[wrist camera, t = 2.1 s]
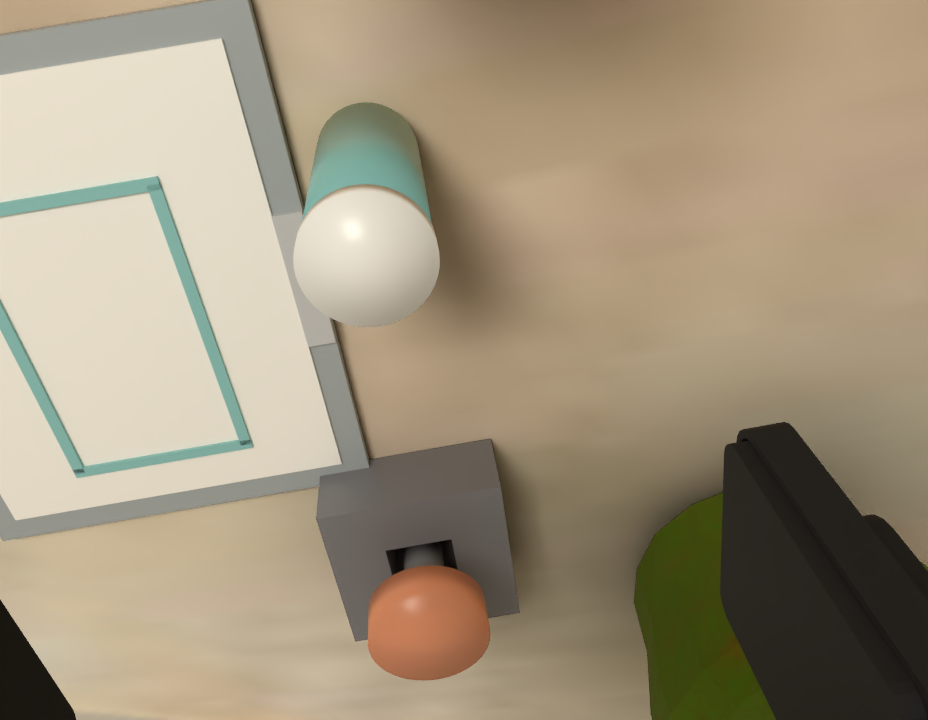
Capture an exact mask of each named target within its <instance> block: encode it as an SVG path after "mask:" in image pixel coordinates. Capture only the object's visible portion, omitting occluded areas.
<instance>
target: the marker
mask: <svg viewBox="0 0 928 720" xmlns="http://www.w3.org/2000/svg"><path fill="white" fill-rule="evenodd" d="M293 264H294V271H295V276H296V279H297V282H298V284H299V286H300V288H301V290H302V292H303V293H304V295H305V296H306V298H307V299H308V300H309V301H310V302H311V303H312V305H313V306H314V307H316V308H317V309H318V310H319V311H320V312H322V313H323V314H325V315H326V316H328V317H330V318H332V319H334V320H336V321H338V322H341V323H344V324H347V325H352V326H358V327H378V326H384V325H388V324H392V323H395V322H397V321H400V320H402V319H404V318H406V317H407V316H409V315H410V314H412V313H413V312H415V311H416V310H417V309H418V308H419V307H421V305H422V304H423V303H424V302H425V301H426V300H427V298H428V297H429V295H430V294H431V292H432V290H433V288H434V286H435V284H436V281H437V278H438V274H439V269H440V256H439V248H438V243H437V238H436V234H435V231H434V228H433V226H432V221H431V216H430V210H429V204H428V199H427V193H426V187H425V182H424V176H423V171H422V165H421V159H420V154H419V148H418V143H417V139H416V137H415V134H414V132H413V130H412V128H411V127H410V125H409V124H408V123H407V121H406V120H405V119H404V118H403V117H402V116H401V115H399V114H398V113H397V112H395V111H394V110H392V109H390V108H388V107H386V106H383V105H380V104H375V103H357V104H353V105H349V106H347V107H344V108H343V109H341V110H339V111H338V112H336V113H335V114H334V115H333V116H332V117H331V118H330V119H329V120H328V121H327V122H326V124H325V125H324V127H323V128H322V130H321V133H320V135H319V139H318V143H317V148H316V153H315V158H314V163H313V168H312V173H311V178H310V183H309V188H308V193H307V198H306V203H305V208H304V213H303V218H302V222H301V224H300V227H299V229H298V233H297V237H296V242H295V246H294V254H293Z"/></svg>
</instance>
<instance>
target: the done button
mask: <svg viewBox="0 0 928 720" xmlns="http://www.w3.org/2000/svg"><path fill="white" fill-rule="evenodd" d="M403 562H404V570H403V571H401V572H398V573H396V574H394V575H392V576H391V577H389V578H388V579H386V580H385V581H383V582H382V583H381V584H380V585H379V586H378V587H377V589H376V590H375V591H374V593H373V594H372V596H371V599H370V601H369V606H368V647H369V652H370V654H371V656H372V658H373V659H374V661H375V662H376V663H377V664H378V665H379V666H380V667H381V668H382V669H384V670H385V671H387V672H389V673H391V674H393V675H395V676H398V677H402V678H406V679H412V680H435V679H441V678H445V677H449V676H452V675H455V674H457V673H460V672H462V671H464V670H466V669H467V668H469V667H470V666H472V665H473V664H474V663H476V662H477V661H478V660H479V659H480V658H481V657H482V655H483V654H484V653H485V651H486V649H487V647H488V645H489V641H490V628H489V621H488V615H487V609H486V602H485V597H484V593H483V591H482V589H481V587H480V586H479V584H478V583H477V582H476V581H475V580H474V579H473V578H472V577H470V576H469V575H467V574H465V573H464V572H462V571H459V570H457V569H453V568H450V567H445V566H444V561H443V551H442V545H441V543H440V542H433V543H427V544H422V545H416V546H410V547H405V548H403Z"/></svg>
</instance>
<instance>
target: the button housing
mask: <svg viewBox="0 0 928 720" xmlns="http://www.w3.org/2000/svg"><path fill="white" fill-rule="evenodd" d="M316 520H317V523H318V526H319V529H320V532H321V535H322V538H323V542H324V545H325V548H326V551H327V554H328V557H329V560H330V563H331V567H332V570H333V573H334V576H335V579H336V582H337V585H338V588H339V592H340V595H341V598H342V601H343V604H344V607H345V610H346V613H347V617H348V620H349V623H350V626H351V629H352V632H353V635H354V639H355V642H356V641H361V640H367V639H368V606H369V601H370V599H371V596H372V594H373V593H374V591H375V590H376V589H377V587H378V586H379V585H380V584H381V583H382V582H383V581H385V580H386V579H388V578H389V577H391V576H392V575H394V574H396V573H398V572H401V571H403V570H404V562H403V548H405V547H410V546H416V545H422V544H427V543H433V542H440V543H441V545H442V551H443V561H444V566H445V567H450V568H453V569H457V570H459V571H462V572H464V573H465V574H467V575H469V576H470V577H472V578H473V579H474V580H475V581H476V582H477V583H478V584H479V586H480V587H481V589H482V591H483V593H484V597H485V602H486V609H487V615H488V618H492V617H498V616H503V615H509V614H515V613H520V611H519V604H518V598H517V591H516V584H515V578H514V571H513V564H512V558H511V551H510V544H509V538H508V531H507V524H506V518H505V511H504V504H503V497H502V491H501V485H500V480H499V476H498V471H497V466H496V462H495V457H494V452H493V447H492V443H491V439H486V440H480V441H475V442H469V443H463V444H457V445H452V446H446V447H440V448H434V449H428V450H423V451H417V452H411V453H405V454H400V455H394V456H388V457H382V458H376V459H371V460H369V468H364V469H358V470H352V471H346V472H341V473H335V474H329V475H323V476H320V481H319V493H318V504H317V516H316Z"/></svg>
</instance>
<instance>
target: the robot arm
mask: <svg viewBox="0 0 928 720" xmlns="http://www.w3.org/2000/svg"><path fill="white" fill-rule="evenodd" d="M720 595H721V601H722V605H723V609H724V612H725V615H726V617H727V619H728V622H729V624H730V626H731V628H732V630H733V632H734V634H735V636H736V638H737V640H738V642H739V644H740V646H741V648H742V650H743V652H744V655H745V657H746V659H747V661H748V663H749V665H750V667H751V669H752V671H753V673H754V675H755V677H756V679H757V681H758V683H759V685H760V687H761V689H762V692H763V694H764V696H765V698H766V700H767V702H768V704H769V706H770V708H771V710H772V712H773V714H774V716H775V718H776V720H928V571H927V570H926V569H925V567H924V566H923V565H922V564H921V562H920V561H919V560H918V559H917V557H916V556H915V555H914V554H913V552H912V551H911V550H910V549H909V548H908V546H907V545H906V544H905V543H904V541H903V540H902V539H901V538H900V536H899V535H898V534H897V533H896V531H895V530H894V529H893V528H892V527H891V526H890V525H889V524H888V523H887V522H886V521H885V520H884V519H882V518H880V517H878V516H876V515H866V516H862V515H861V514H860V513H859V511H858V510H857V509H856V508H855V506H854V505H853V504H852V502H851V501H850V500H849V499H848V497H847V496H846V495H845V493H844V492H843V491H842V490H841V488H840V487H839V486H838V484H837V483H836V482H835V481H834V479H833V478H832V477H831V475H830V474H829V473H828V472H827V470H826V469H825V468H824V466H823V465H822V464H821V463H820V461H819V460H818V459H817V457H816V456H815V455H814V453H813V452H812V451H811V450H810V448H809V447H808V446H807V444H806V443H805V442H804V441H803V439H802V438H801V437H800V435H799V434H798V433H797V432H796V430H795V429H794V428H793V427H792V426H791V425H790V424H789V423H786V422H782V423H776V424H771V425H766V426H760V427H755V428H749V429H744V430H741V431H740V432H739V434H738V436H737V443H732V444H728V445H726V447H725V452H724V479H723V510H722V542H721V574H720ZM0 720H76V717H75V713H74V711H73V709H72V707H71V706H70V704H69V703H68V701H67V700H66V698H65V697H64V695H63V694H62V692H61V691H60V689H59V688H58V686H57V685H56V683H55V682H54V680H53V679H52V677H51V676H50V674H49V673H48V671H47V670H46V668H45V667H44V665H43V664H42V662H41V660H40V659H39V657H38V656H37V654H36V653H35V651H34V650H33V648H32V647H31V645H30V644H29V642H28V641H27V639H26V638H25V636H24V635H23V633H22V632H21V630H20V629H19V627H18V626H17V624H16V623H15V621H14V620H13V618H12V617H11V615H10V614H9V612H8V611H7V609H6V608H5V606H4V605H3V603H2V602H1V600H0Z"/></svg>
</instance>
